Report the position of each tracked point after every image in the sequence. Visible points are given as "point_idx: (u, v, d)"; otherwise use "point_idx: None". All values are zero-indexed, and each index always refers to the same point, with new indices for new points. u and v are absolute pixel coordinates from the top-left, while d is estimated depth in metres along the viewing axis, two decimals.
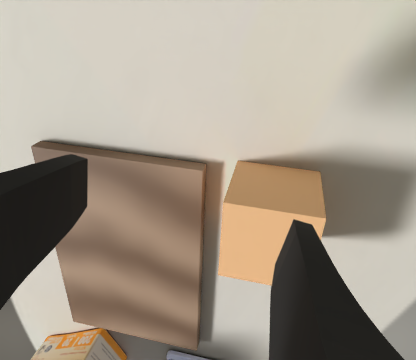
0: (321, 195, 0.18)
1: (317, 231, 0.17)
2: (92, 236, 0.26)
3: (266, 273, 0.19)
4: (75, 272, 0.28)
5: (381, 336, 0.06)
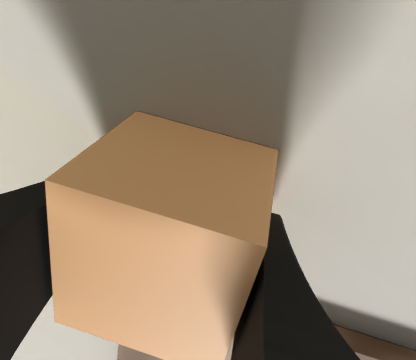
0: None
1: (79, 199, 0.07)
2: None
3: (206, 308, 0.08)
4: None
5: (327, 319, 0.07)
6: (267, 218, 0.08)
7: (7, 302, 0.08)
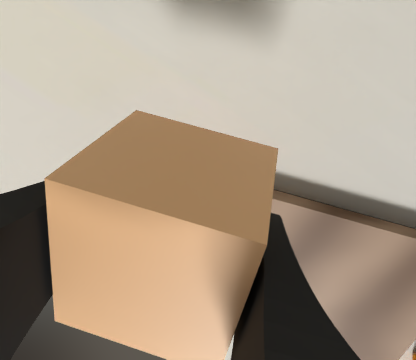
0: None
1: (78, 198, 0.07)
2: None
3: (207, 306, 0.08)
4: None
5: (327, 319, 0.07)
6: (267, 216, 0.08)
7: (7, 302, 0.08)
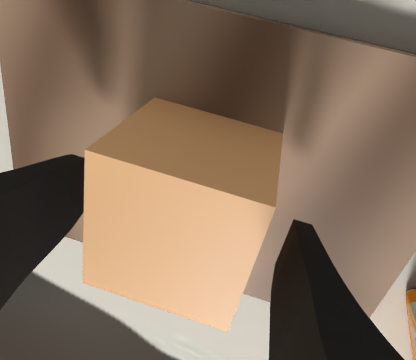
0: None
1: (113, 167, 0.09)
2: None
3: (221, 265, 0.09)
4: None
5: (381, 336, 0.06)
6: (275, 186, 0.09)
7: None
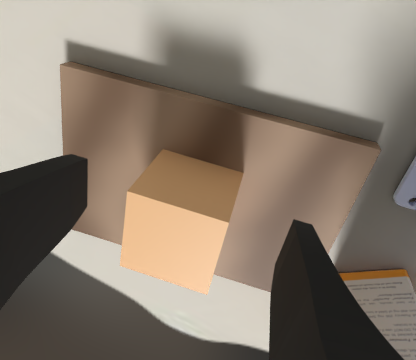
0: None
1: (142, 200, 0.16)
2: None
3: (201, 254, 0.17)
4: None
5: (381, 336, 0.06)
6: (231, 210, 0.16)
7: None
